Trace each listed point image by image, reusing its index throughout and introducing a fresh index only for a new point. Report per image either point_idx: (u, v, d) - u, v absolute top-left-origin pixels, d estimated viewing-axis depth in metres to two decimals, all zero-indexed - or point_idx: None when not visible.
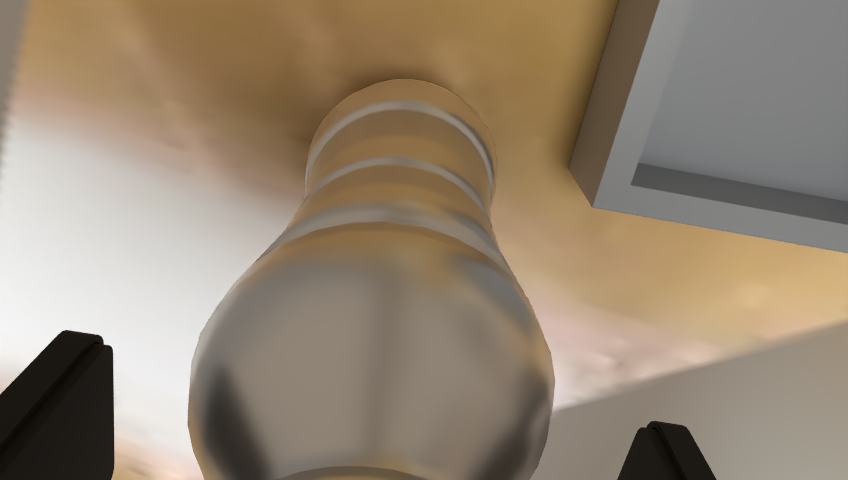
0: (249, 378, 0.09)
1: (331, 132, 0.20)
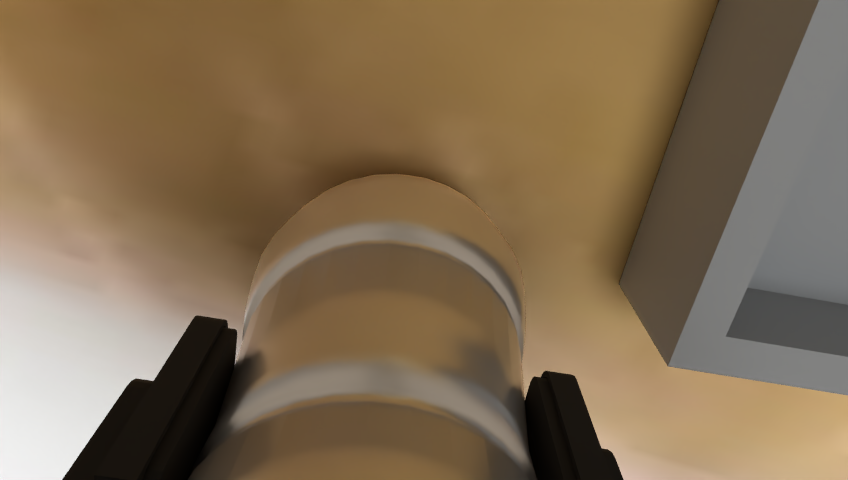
0: None
1: (277, 271, 0.13)
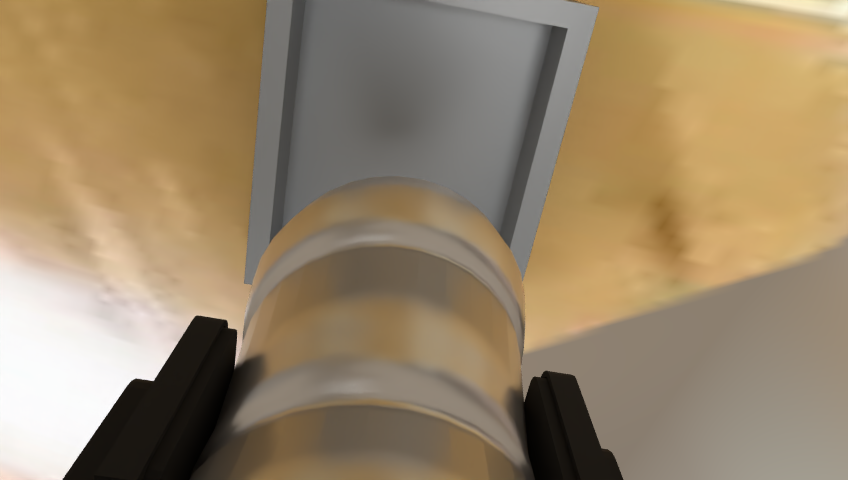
0: None
1: (277, 273, 0.13)
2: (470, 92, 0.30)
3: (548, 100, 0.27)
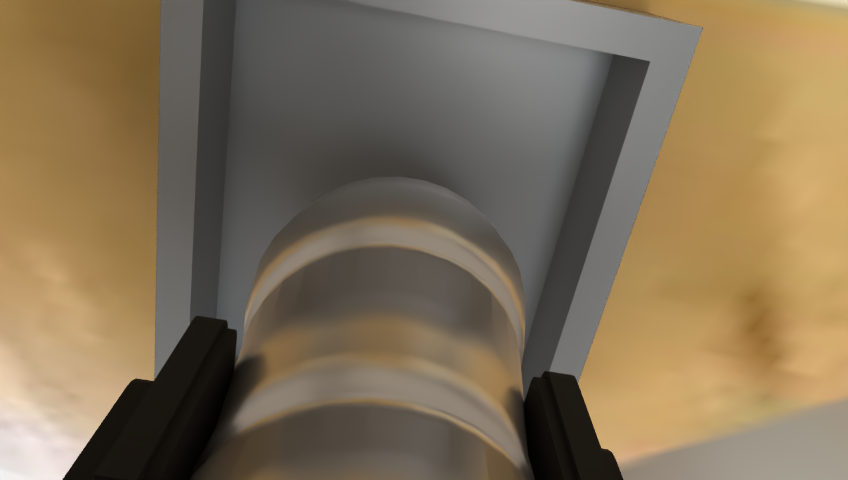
0: None
1: (277, 274, 0.13)
2: (487, 148, 0.20)
3: (613, 171, 0.17)
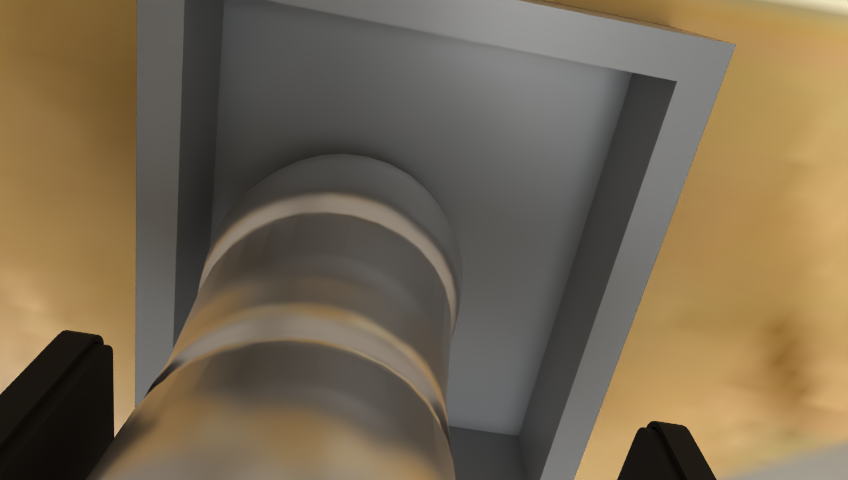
0: None
1: (225, 243, 0.14)
2: (495, 172, 0.18)
3: (634, 200, 0.16)
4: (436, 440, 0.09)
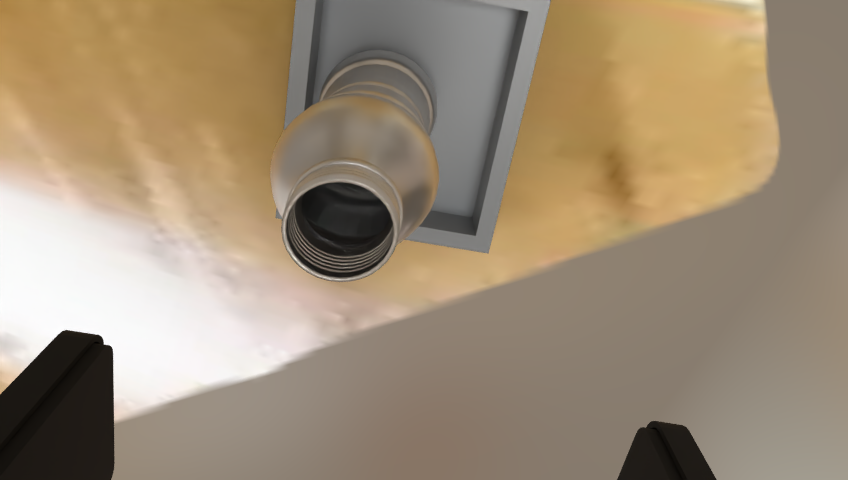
0: (301, 146, 0.22)
1: (333, 79, 0.33)
2: (455, 64, 0.37)
3: (515, 68, 0.34)
4: (419, 116, 0.28)
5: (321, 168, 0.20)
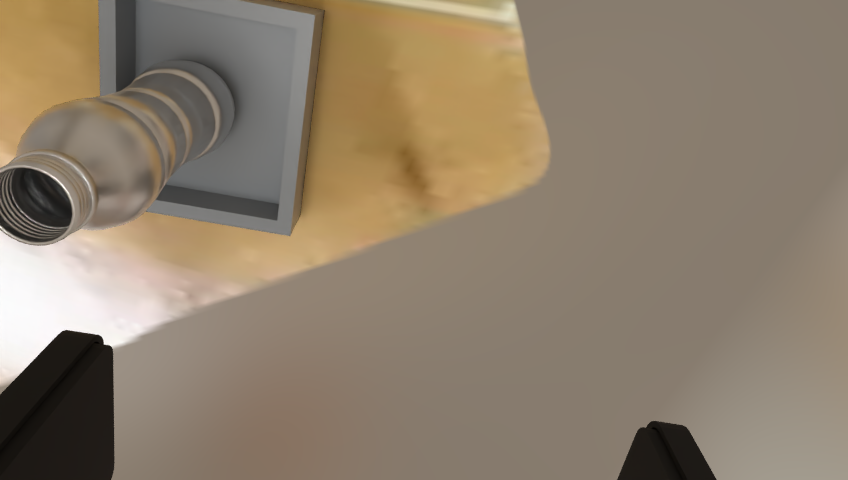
0: (27, 140, 0.28)
1: None
2: (255, 72, 0.43)
3: (292, 76, 0.40)
4: (172, 117, 0.34)
5: (21, 157, 0.26)
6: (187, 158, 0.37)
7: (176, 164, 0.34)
